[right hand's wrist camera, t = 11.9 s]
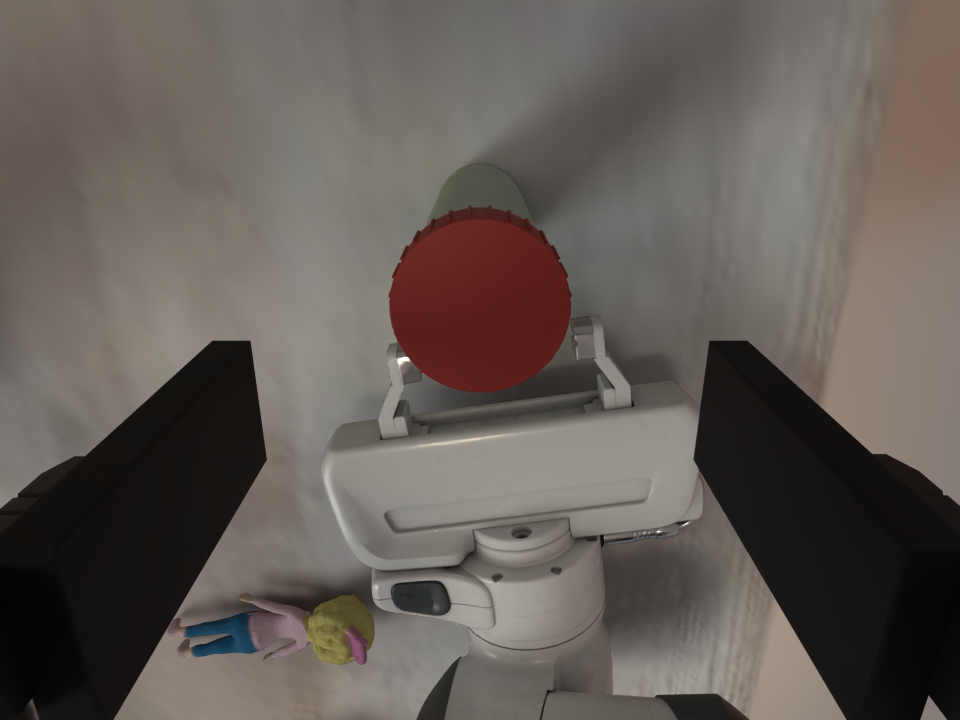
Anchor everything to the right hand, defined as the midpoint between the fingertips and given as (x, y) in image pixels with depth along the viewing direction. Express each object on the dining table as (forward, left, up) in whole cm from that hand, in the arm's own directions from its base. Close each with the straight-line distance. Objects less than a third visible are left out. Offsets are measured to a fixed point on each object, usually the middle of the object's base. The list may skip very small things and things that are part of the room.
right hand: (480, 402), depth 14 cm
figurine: (+28, +17, -26) cm, 42 cm away
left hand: (+2, +5, -19) cm, 20 cm away
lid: (0, 0, -7) cm, 7 cm away
